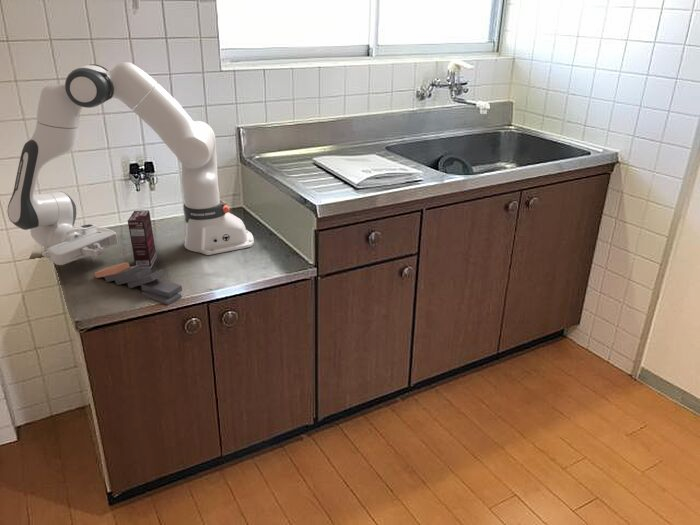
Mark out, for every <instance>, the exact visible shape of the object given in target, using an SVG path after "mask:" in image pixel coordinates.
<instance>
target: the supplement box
mask: <svg viewBox="0 0 700 525" xmlns="http://www.w3.org/2000/svg"><path fill="white" fill-rule="evenodd" d="M127 224H128V232H129V236H130V242H131V247H132V253H133V260H134V264H135V265H134V266H136V265H139V266H140V268H141V270H142V269H146V268H150V269H152V268H153V266H154V264H155V262H156V259H157V257H158V255H157V250H156V245H155V244H156V243H155V238H154V233H153V227H152V220H151V214H150V210H148V209H147V210H145V209H143V210H141V209H140V210H133V212H132V214H131V215H130V216H129V218H128V219H127Z"/></svg>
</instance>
